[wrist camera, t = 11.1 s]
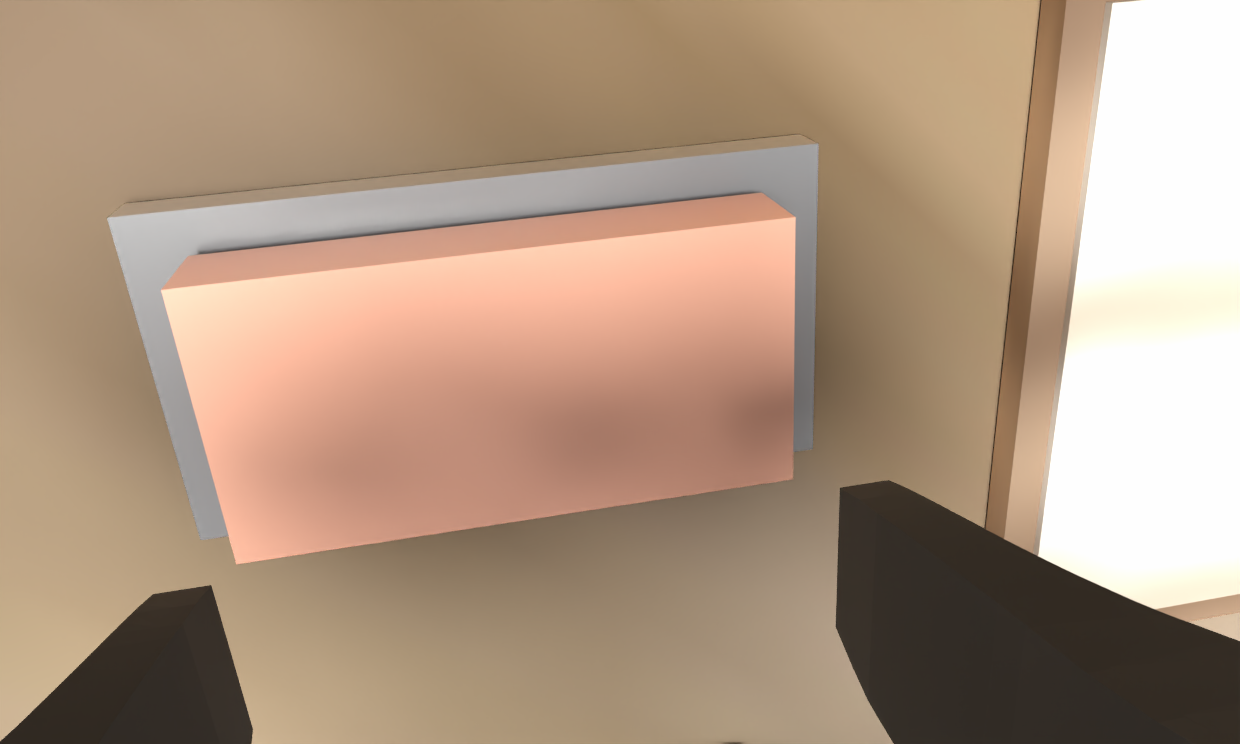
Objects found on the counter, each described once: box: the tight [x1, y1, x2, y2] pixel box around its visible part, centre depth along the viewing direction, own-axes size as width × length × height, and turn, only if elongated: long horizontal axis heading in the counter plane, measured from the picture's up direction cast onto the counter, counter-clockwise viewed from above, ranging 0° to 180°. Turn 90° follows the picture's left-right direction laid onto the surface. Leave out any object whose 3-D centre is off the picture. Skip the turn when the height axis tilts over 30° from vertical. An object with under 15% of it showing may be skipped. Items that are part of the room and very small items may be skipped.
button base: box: [107, 134, 818, 540], centre depth 19 cm, size 6×12×1 cm, turn 94°
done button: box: [161, 192, 796, 564], centre depth 17 cm, size 5×10×2 cm, turn 94°
